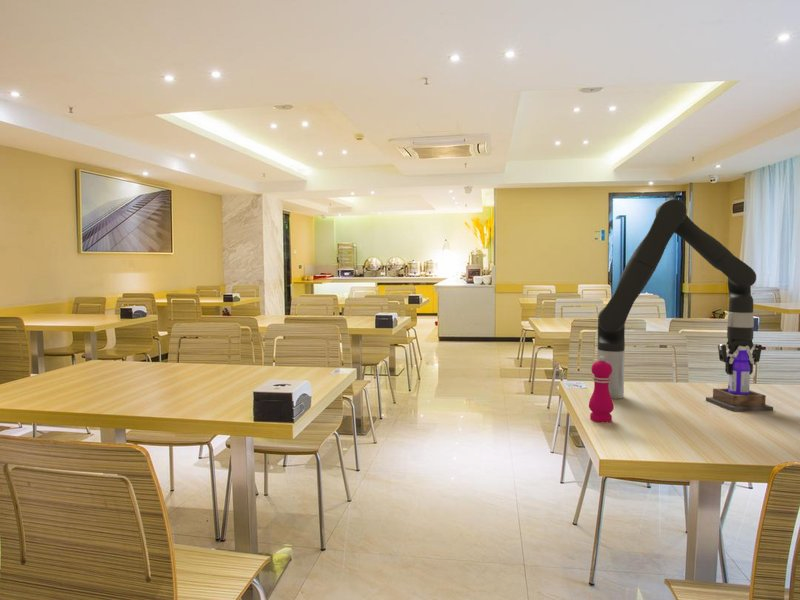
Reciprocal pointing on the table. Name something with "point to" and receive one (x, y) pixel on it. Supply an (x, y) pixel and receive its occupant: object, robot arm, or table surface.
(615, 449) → the table surface
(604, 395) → the pepper mill
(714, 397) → the open box
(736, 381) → the bottle
